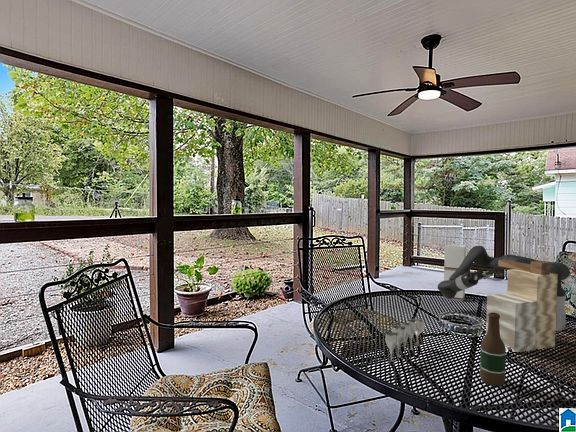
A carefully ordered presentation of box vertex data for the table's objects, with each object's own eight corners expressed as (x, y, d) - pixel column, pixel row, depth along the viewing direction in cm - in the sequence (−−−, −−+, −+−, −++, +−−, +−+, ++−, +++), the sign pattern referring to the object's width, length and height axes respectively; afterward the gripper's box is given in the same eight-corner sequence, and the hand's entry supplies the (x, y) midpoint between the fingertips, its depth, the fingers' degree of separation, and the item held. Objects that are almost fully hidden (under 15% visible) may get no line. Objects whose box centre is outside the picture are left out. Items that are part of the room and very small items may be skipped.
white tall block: (464, 297, 236) (466, 245, 235) (462, 301, 227) (464, 247, 226) (446, 295, 242) (447, 244, 241) (443, 298, 233) (444, 245, 232)
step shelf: (524, 335, 169) (526, 268, 168) (554, 346, 156) (557, 274, 155) (485, 340, 161) (487, 271, 160) (514, 353, 148) (516, 277, 147)
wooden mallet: (504, 265, 175) (504, 255, 175) (549, 274, 154) (550, 262, 154) (496, 266, 174) (496, 255, 174) (541, 274, 153) (541, 263, 153)
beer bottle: (474, 375, 128) (476, 310, 127) (495, 375, 129) (497, 309, 128) (488, 387, 121) (490, 317, 120) (510, 386, 121) (512, 316, 120)
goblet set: (395, 369, 133) (395, 334, 133) (381, 364, 137) (382, 330, 137) (426, 347, 153) (427, 317, 153) (413, 344, 157) (414, 314, 157)
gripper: (479, 286, 195) (502, 277, 181) (458, 288, 190) (480, 278, 177) (474, 273, 198) (496, 263, 184) (453, 274, 194) (475, 264, 180)
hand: (488, 270), depth 181 cm, fingers open, 8 cm apart
